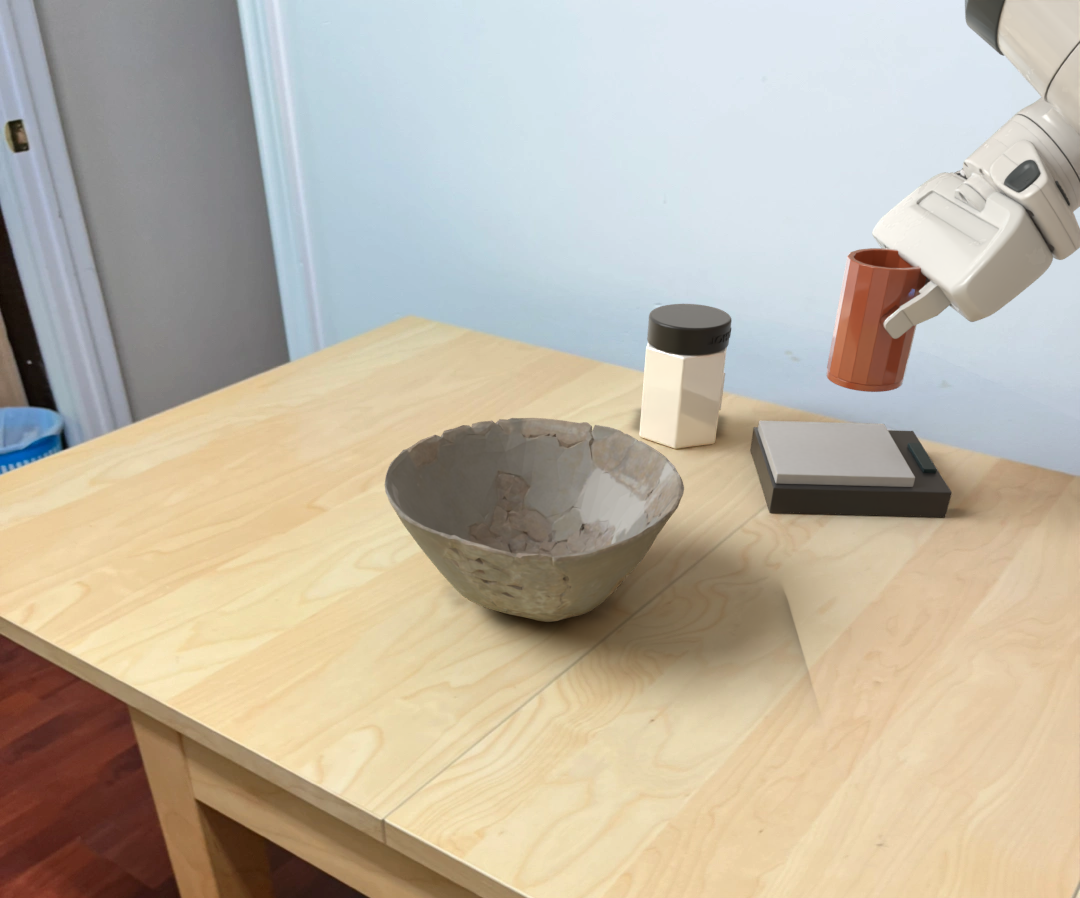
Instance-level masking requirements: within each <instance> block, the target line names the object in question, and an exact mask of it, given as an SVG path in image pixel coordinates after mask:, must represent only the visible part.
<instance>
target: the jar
mask: <svg viewBox="0 0 1080 898" xmlns="http://www.w3.org/2000/svg"><path fill="white" fill-rule="evenodd" d="M647 323H648V324H647V336H646V341H647V344H646V347H645V358H644V368H643V369H644V370H643V381H642V383H643V384H642V394H641V395H642V397H641V408H640V409H641V410H640V420H639V437H640V438H642V439H644V440H648V441H651V442H653V443H656V444H660V445H662V446H665V447H668V448H671V449H674V450H677V449H684V448H691V447H698V446H699V447H700V446H706V445H707V446H708V445H713V444H715V443H716V438H717V433H718V424H719V417H720V416H719V415H720V411H721V410H722V403H723V395H724V389H725V388H724V387H725V380H726V378H725V377H726V372H725V369H726V361H727V360H726V359H727V351H728V347H729V344H730V339H731V335H732V316H731V314H729V312H727V311H725V310H722V309H720V308H717V307H714V306H710V305H705V304H697V303H672V304H665V305H662V306H658V307H655V308H654V309H652V310H651V311H650V312H649V314H648V322H647Z"/></svg>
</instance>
